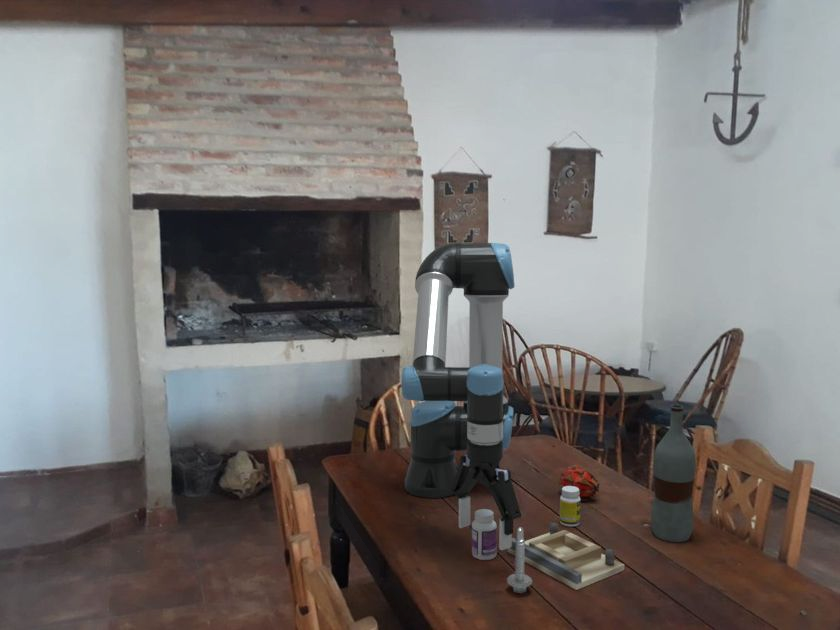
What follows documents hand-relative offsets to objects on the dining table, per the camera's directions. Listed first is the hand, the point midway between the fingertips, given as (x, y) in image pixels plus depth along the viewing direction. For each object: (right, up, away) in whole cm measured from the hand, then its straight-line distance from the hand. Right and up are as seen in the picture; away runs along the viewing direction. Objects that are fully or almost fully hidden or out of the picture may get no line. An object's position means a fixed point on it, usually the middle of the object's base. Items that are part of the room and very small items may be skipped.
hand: (484, 536), depth 162 cm
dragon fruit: (+27, 0, +33) cm, 43 cm away
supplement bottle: (+22, -2, +17) cm, 28 cm away
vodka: (+43, -3, +10) cm, 45 cm away
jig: (+17, -4, -2) cm, 17 cm away
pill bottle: (0, -4, +1) cm, 5 cm away
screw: (+6, -7, -14) cm, 16 cm away
